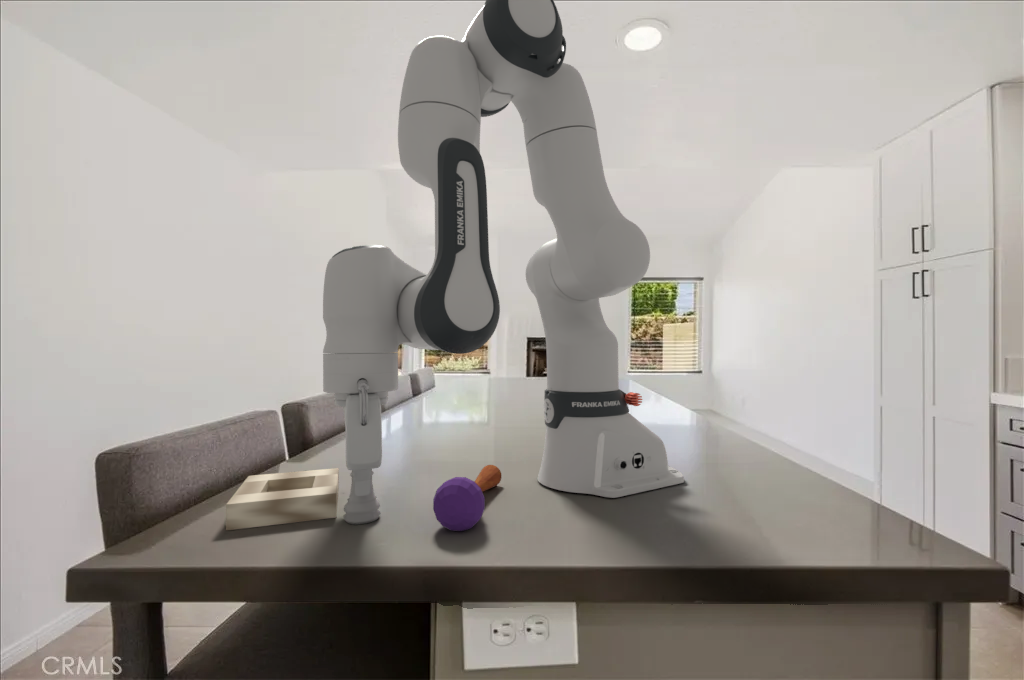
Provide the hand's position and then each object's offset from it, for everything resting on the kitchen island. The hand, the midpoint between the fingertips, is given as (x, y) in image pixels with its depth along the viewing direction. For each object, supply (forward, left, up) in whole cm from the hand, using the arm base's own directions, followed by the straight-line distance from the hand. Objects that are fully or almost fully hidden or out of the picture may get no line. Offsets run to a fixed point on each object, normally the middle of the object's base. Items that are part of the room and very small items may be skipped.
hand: (362, 489), depth 58 cm
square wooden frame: (+9, -8, -4) cm, 13 cm away
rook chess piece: (0, 0, -4) cm, 4 cm away
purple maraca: (-14, +1, -4) cm, 15 cm away
